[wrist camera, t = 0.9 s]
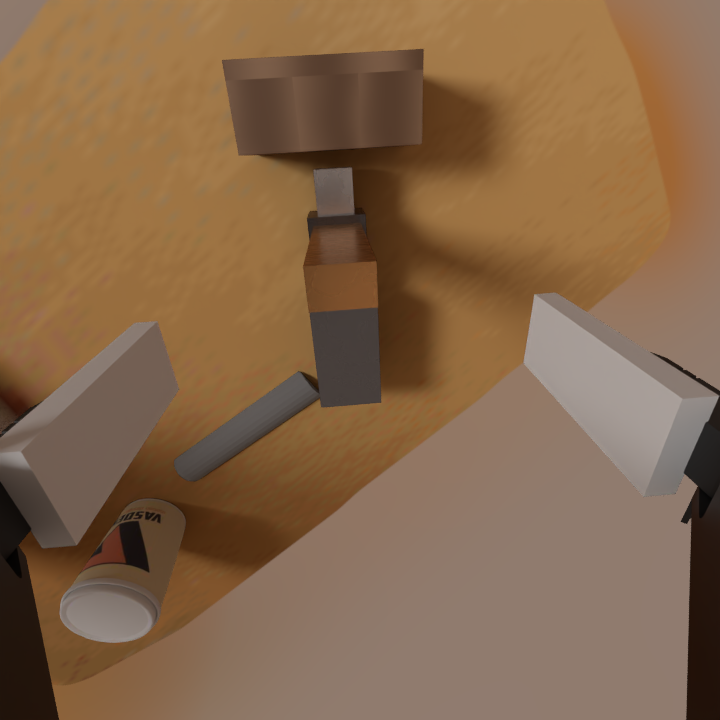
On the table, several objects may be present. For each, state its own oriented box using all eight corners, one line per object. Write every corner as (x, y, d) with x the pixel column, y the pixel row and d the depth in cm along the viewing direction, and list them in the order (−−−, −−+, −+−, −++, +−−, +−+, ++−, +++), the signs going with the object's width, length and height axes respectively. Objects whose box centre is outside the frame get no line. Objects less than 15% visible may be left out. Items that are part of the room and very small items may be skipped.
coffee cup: (177, 487, 48) (133, 583, 37) (203, 538, 52) (170, 637, 41) (102, 499, 48) (36, 598, 37) (134, 549, 52) (83, 650, 41)
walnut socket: (256, 155, 32) (238, 155, 25) (244, 79, 29) (221, 60, 23) (404, 145, 32) (421, 144, 26) (404, 70, 30) (423, 49, 24)
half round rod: (326, 392, 43) (325, 401, 42) (200, 477, 48) (196, 488, 46) (300, 365, 42) (299, 374, 40) (173, 456, 46) (167, 467, 44)
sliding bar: (328, 380, 41) (326, 501, 27) (305, 169, 31) (283, 181, 17) (370, 377, 41) (390, 495, 27) (359, 165, 32) (382, 175, 17)
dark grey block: (322, 376, 42) (321, 407, 36) (311, 284, 37) (308, 305, 32) (375, 372, 42) (381, 402, 37) (371, 280, 37) (377, 300, 32)
